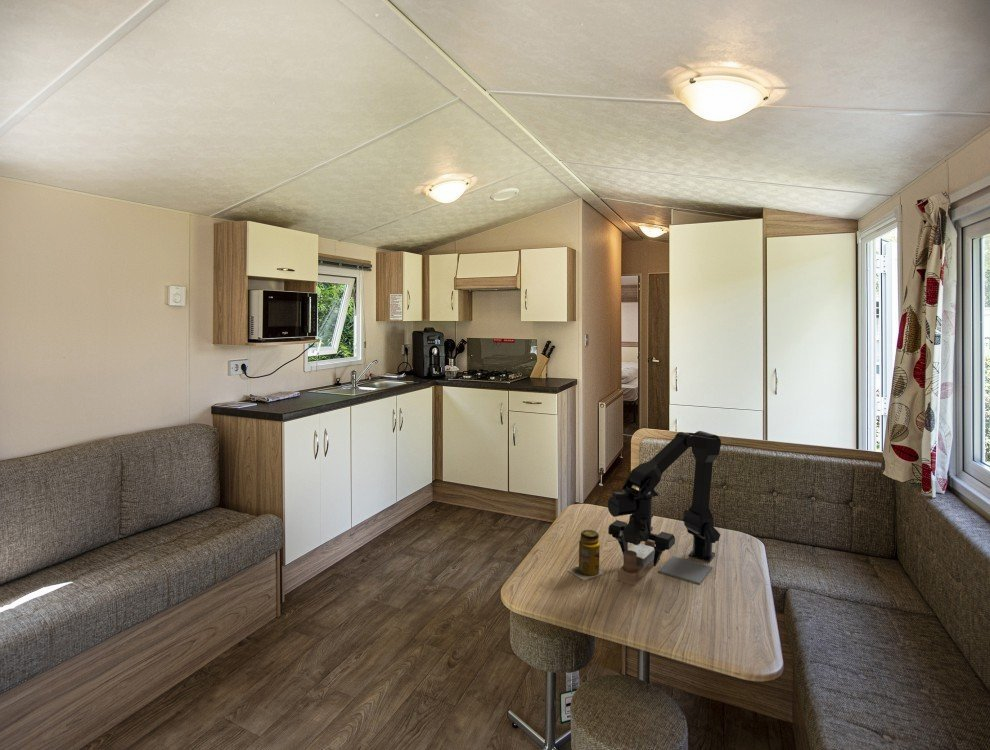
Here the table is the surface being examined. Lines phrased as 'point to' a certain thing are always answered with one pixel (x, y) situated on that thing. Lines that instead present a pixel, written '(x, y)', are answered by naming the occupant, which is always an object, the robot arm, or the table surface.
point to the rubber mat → (685, 569)
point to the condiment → (588, 556)
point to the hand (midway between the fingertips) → (639, 561)
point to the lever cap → (643, 554)
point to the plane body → (633, 566)
